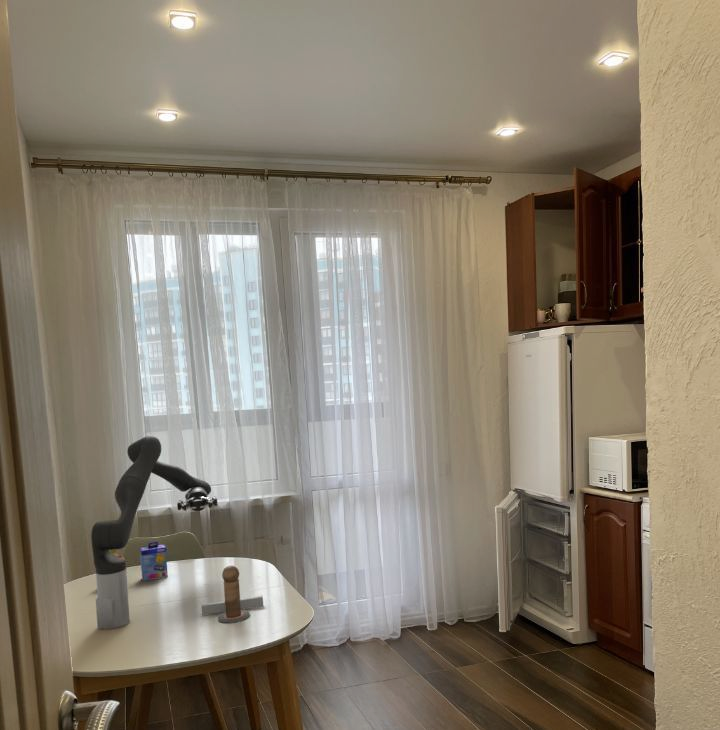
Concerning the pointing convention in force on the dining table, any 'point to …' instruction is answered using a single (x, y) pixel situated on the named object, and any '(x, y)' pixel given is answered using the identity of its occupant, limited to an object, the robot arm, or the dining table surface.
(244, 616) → the pad
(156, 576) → the ink cartridge box
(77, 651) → the dining table surface
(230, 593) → the skittle
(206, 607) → the low wall
